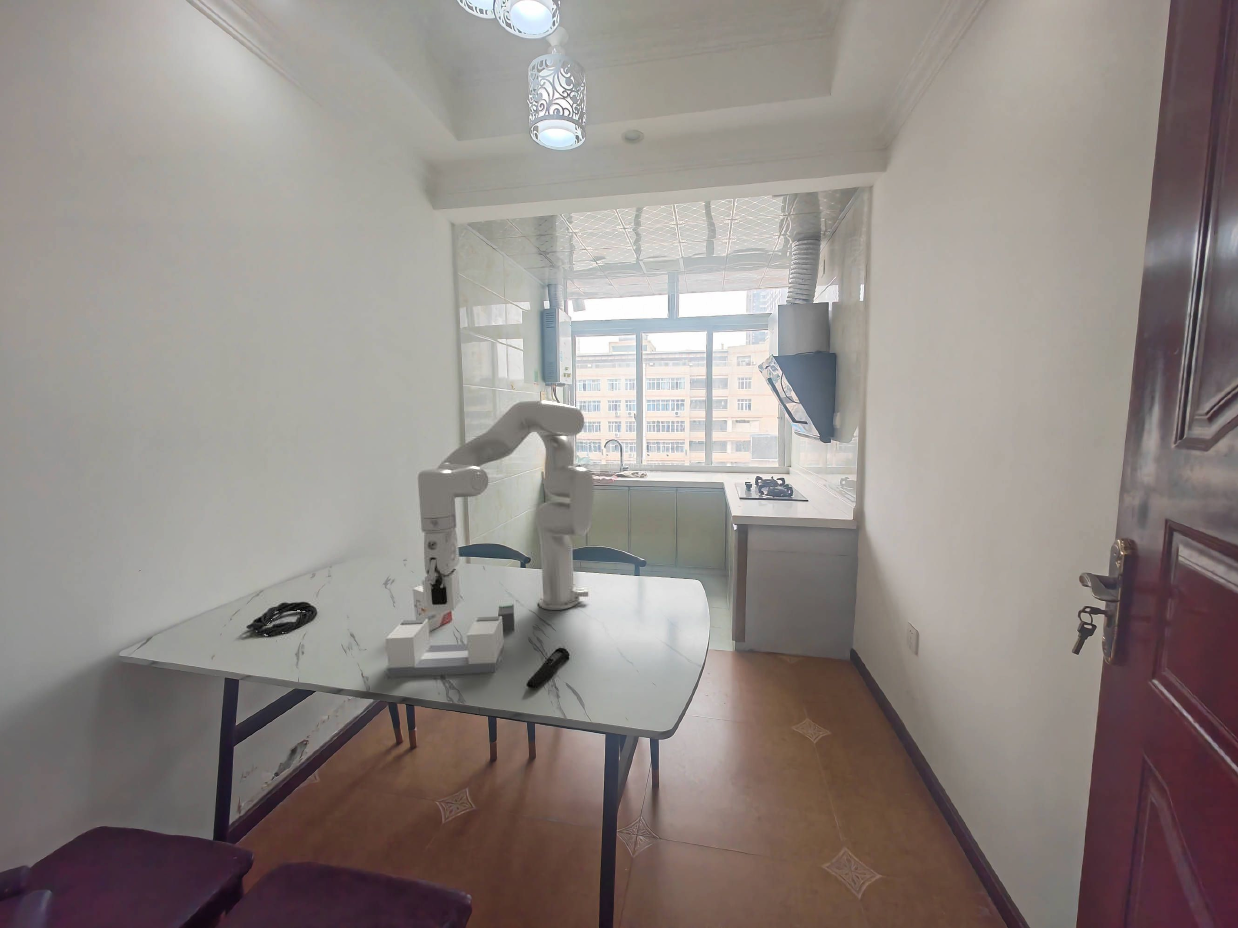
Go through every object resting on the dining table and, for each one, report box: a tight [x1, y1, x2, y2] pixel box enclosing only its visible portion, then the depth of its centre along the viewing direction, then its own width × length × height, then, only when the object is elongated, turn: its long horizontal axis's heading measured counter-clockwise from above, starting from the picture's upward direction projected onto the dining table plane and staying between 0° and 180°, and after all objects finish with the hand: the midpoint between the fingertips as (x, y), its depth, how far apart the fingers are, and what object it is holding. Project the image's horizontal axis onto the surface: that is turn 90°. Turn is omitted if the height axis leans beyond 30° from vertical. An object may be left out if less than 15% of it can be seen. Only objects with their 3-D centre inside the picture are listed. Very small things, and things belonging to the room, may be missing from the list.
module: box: [424, 568, 461, 612], centre depth 107 cm, size 6×5×8 cm
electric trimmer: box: [526, 647, 571, 689], centre depth 104 cm, size 4×16×3 cm, turn 159°
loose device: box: [497, 603, 515, 633], centre depth 127 cm, size 4×6×5 cm, turn 12°
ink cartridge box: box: [412, 579, 453, 632], centre depth 129 cm, size 9×5×15 cm, turn 148°
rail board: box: [385, 615, 505, 678], centre depth 109 cm, size 24×10×9 cm, turn 92°
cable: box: [246, 601, 318, 636], centre depth 134 cm, size 17×14×4 cm
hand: (443, 598), depth 107 cm, fingers closed on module, 5 cm apart
